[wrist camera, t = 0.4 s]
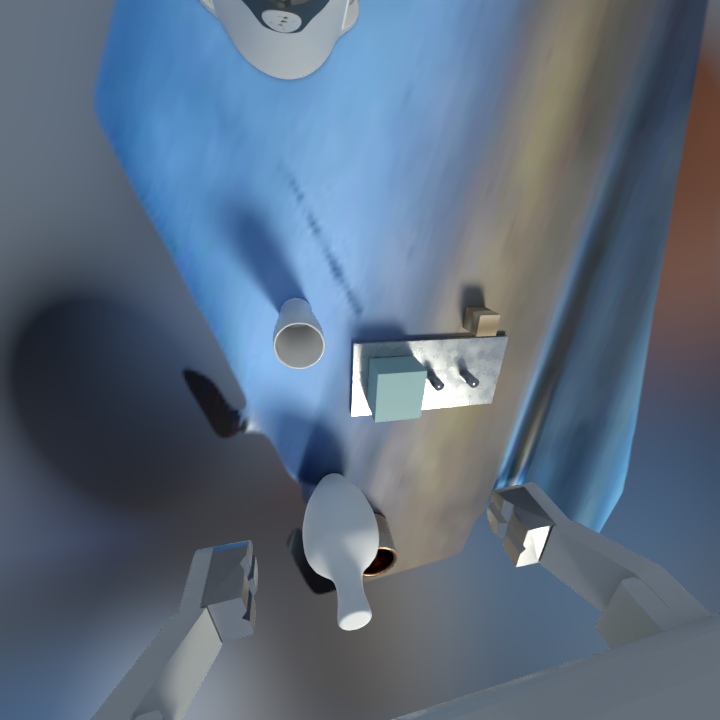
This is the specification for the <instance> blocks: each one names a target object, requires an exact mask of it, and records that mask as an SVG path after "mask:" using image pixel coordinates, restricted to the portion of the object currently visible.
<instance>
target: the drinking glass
mask: <svg viewBox="0 0 720 720" xmlns="http://www.w3.org/2000/svg"><path fill="white" fill-rule="evenodd" d="M324 349H325V341H324V335H323V331H322V328H321V326H320V324H319V322H318V320H317V318H316V317H315V315H314V313H313V312H312V309H311V306H310V305H309V304H308V303H307V302H306V301H305V300H303V299H301V298H291V299H288V300H287V301H285V302H284V303H283V305H282V307H281V309H280V314H279V317H278V320H277V322H276V325H275V328H274V333H273V350H274V353H275V355H276V357H277V359H278V360H279V361H280V362H281V363H282V364H284V365H286V366H288V367H290V368H295V369H303V368H307V367H310V366H312V365H314V364H315V363H317V362H318V361H319V360H320V358H321V357H322V355H323V353H324Z"/></svg>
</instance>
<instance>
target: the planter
mask: <svg viewBox="0 0 720 720" xmlns="http://www.w3.org/2000/svg"><path fill="white" fill-rule="evenodd" d="M374 515H375V518H376V522H377V526H378V533H379V546H378V550H377V554H376V557H375V558H374V560H373V561H372V563H371V564H370V565H369V566H368V567H367V568H366V569H365V570H364V572H363V576H364V577H372V576H377V575H380V574H383V573H385V572H386V571H388V570H389V569H391V568H392V567H393V566H394V564H395V563H396V561H397V552H396V549H395V546H394V543H393V539H392V536H391V533H390V529H389V526H388V523H387V521H386V519H385V517H383V516H382V515H380V514H376V513H374Z"/></svg>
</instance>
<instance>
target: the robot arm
mask: <svg viewBox="0 0 720 720" xmlns="http://www.w3.org/2000/svg"><path fill="white" fill-rule="evenodd" d="M199 1H200V2H201V3H202V4H203V5H204V6H205V7H206V8H207V9H208V10H209V11H210V12H211V13H212V14H213V15H214V16H216V17H217V18H218V20H219V21H220V22H221V24H222V25H223V27H224V28H225V30H226V32H227V34H228V35H229V37H230V39H231V40H232V42H233V43H234V45H235V46H236V48H237V49H238V50H239V52H240V53H241V54H242V55H243V56H244V57H245V58H246V59H247V60H248V61H249V62H250V63H251V64H252V65H253V66H255V67H256V68H258V69H259V70H261V71H262V72H264V73H266V74H268V75H270V76H273V77H277V78H281V79H297V78H301V77H304V76H307V75H309V74H311V73H312V72H314V71H315V70H316V69H318V68H319V67H320V66H321V65H322V64H323V63H324V61H325V60H326V59H327V57H328V56H329V54H330V52H331V50H332V48H333V47H334V45H335V43H336V41H337V40H338V38H339V37H340V36H341V35H343V34H344V33H346V32H347V31H348V30H350V29H351V28H352V27H353V26H354V25H355V23H356V21H357V18H358V13H359V7H358V0H350V1H349V0H199ZM490 499H491V500H492V501H493V502H492V503H491V504H490V505H489V506H488V509H487V517H488V522H489V524H490V527H491V528H492V530H493V532H494V534H495V535H496V536H498V537H499V538H501V539H502V540H504V549H505V551H506V552H507V554H508V555H509V557H510V558H511V560H512V562H513V563H514V565H515V566H516V567H519V566H523V565H528V564H533V563H537V562H540V563H539V564H540V565H542V566H543V567H544V568H546V569H547V570H548V571H550V572H551V573H552V574H554V575H555V576H556V577H558V578H559V579H560V580H561V581H563V582H564V583H565V584H567V585H568V586H569V587H570V588H572V589H573V590H574V591H576V592H577V593H578V594H580V595H581V596H582V597H583V598H585V599H586V600H587V601H589V602H590V603H591V604H593V605H594V606H595V607H596V608H598V609H599V610H601V611H602V612H603V614H602V615H601V617H600V619H599V620H598V622H597V624H596V630H597V631H598V633H599V634H600V635H601V637H602V638H603V639H604V641H605V642H606V644H607V645H608V646H609V648H610V649H608V650H605V651H602V652H598V653H595V654H592V655H589V656H586V657H583V658H580V659H577V660H574V661H571V662H568V663H565V664H561V665H558V666H555V667H552V668H549V669H546V670H543V671H540V672H537V673H534V674H531V675H528V676H525V677H521V678H518V679H515V680H512V681H509V682H506V683H503V684H500V685H497V686H494V687H491V688H488V689H485V690H482V691H478V692H475V693H472V694H469V695H466V696H463V697H460V698H457V699H454V700H451V701H448V702H445V703H441V704H439V705H435V706H432V707H429V708H426V709H423V710H420V711H417V712H414V713H411V714H408V715H405V716H401V717H398V718H395V719H392V720H720V613H718V614H715V615H712V614H711V613H710V612H709V611H707V610H706V609H705V608H704V607H703V606H702V605H701V604H700V603H699V602H698V601H697V600H696V599H695V598H694V597H693V596H692V595H691V594H690V593H689V592H688V591H686V589H684V588H683V587H682V586H681V585H680V584H679V583H678V582H677V581H676V580H675V579H674V578H673V577H672V576H671V575H670V574H669V573H668V572H667V571H666V570H664V568H663V567H661V566H659V565H657V564H655V563H653V562H651V561H650V560H648V559H646V558H644V557H642V556H640V555H638V554H636V553H634V552H633V551H631V550H629V549H627V548H625V547H623V546H621V545H619V544H617V543H615V542H613V541H612V540H610V539H608V538H606V537H604V536H602V535H600V534H599V533H597V532H595V531H593V530H591V529H589V528H587V527H585V526H583V525H582V524H580V523H578V522H576V521H572V522H571V521H570V520H569V519H568V518H567V517H566V516H565V515H564V513H563V512H562V511H561V510H560V509H559V508H558V507H557V506H556V505H555V504H554V503H553V501H552V500H551V499H550V498H549V497H548V496H547V495H546V494H545V493H544V492H543V491H542V489H541V488H540V487H539V486H538V485H537V484H535V483H533V482H532V483H526V484H522V485H515V486H510V487H506V488H501V489H497V490H493V491H492V492H491V496H490ZM252 551H253V546H252V543H251V540H249V541H243V542H237V543H232V544H227V545H222V546H215V547H210V548H205V549H200V550H197V551H196V553H195V555H194V557H193V560H192V564H191V568H190V572H189V576H188V579H187V583H186V586H185V590H184V594H183V598H182V601H181V605H180V609H179V612H178V614H174V615H172V616H171V617H170V619H169V620H168V621H167V623H166V624H165V625H164V626H163V628H162V629H161V630H160V632H159V633H158V634H157V635H156V637H155V638H154V639H153V640H152V642H151V643H150V644H149V646H148V647H147V648H146V649H145V651H144V652H143V653H142V655H141V656H140V657H139V659H138V660H137V661H136V662H135V664H134V665H133V666H132V667H131V669H130V670H129V671H128V673H127V674H126V675H125V676H124V678H123V679H122V680H121V681H120V683H119V684H118V685H117V687H116V688H115V689H114V690H113V692H112V693H111V694H110V696H109V697H108V698H107V699H106V701H105V702H104V703H103V704H102V706H101V707H100V708H99V710H98V711H97V712H96V713H95V715H94V716H93V717H92V718H91V720H182V718H183V717H184V715H185V713H186V711H187V709H188V707H189V706H190V704H191V702H192V700H193V698H194V696H195V694H196V693H197V691H198V689H199V687H200V685H201V684H202V682H203V680H204V678H205V676H206V674H207V672H208V671H209V669H210V667H211V665H212V663H213V661H214V660H215V658H216V655H217V654H218V652H219V650H220V648H221V646H222V643H223V642H227V641H230V640H234V639H237V638H240V637H244V636H248V635H251V634H254V623H255V610H256V606H255V603H254V599H253V596H254V594H255V593H256V591H257V584H258V568H257V561H256V557H255V556H254V555H252Z"/></svg>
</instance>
